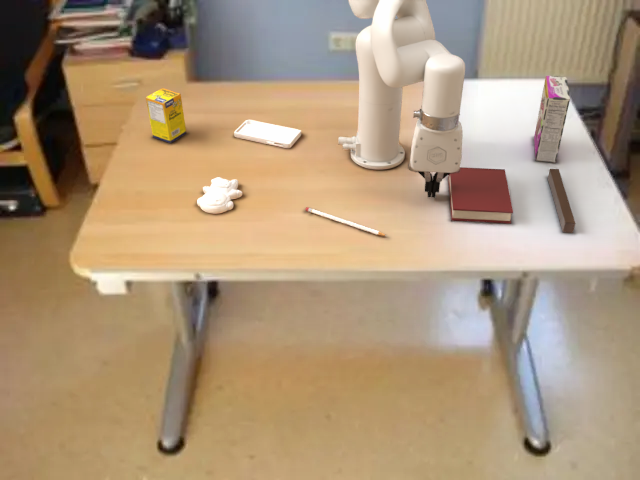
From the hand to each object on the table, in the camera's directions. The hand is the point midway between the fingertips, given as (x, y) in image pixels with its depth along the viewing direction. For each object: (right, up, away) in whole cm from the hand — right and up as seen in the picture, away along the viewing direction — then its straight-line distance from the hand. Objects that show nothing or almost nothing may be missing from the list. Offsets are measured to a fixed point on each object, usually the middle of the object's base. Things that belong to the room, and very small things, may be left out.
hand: (431, 194), depth 151 cm
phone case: (-37, +15, +22) cm, 45 cm away
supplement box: (-61, +16, +22) cm, 66 cm away
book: (+10, -1, 0) cm, 10 cm away
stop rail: (+27, -2, -2) cm, 27 cm away
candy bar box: (+29, +11, +16) cm, 35 cm away
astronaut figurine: (-45, -1, +1) cm, 45 cm away
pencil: (-19, -7, -7) cm, 21 cm away
